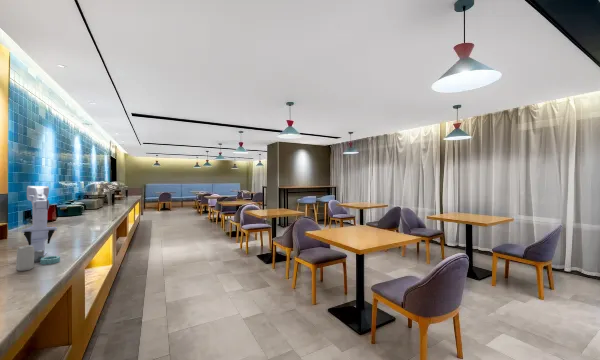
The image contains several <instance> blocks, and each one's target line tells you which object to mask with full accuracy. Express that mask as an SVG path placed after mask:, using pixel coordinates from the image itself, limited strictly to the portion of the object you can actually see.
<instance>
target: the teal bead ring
mask: <svg viewBox="0 0 600 360" xmlns="http://www.w3.org/2000/svg"><path fill="white" fill-rule="evenodd" d="M60 261H61V256H60V255H50V256H44V258H41V262H39V263H40V265H53V264H57V263H60Z"/></svg>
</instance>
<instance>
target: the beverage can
mask: <svg viewBox="0 0 600 360" xmlns="http://www.w3.org/2000/svg"><path fill="white" fill-rule="evenodd" d="M15 264H16V265H15V270H16V271H18V272H24V271H29V270H32V269H33V268H34V266H35V262H34V247H33V246H29V245H22V246H19V247H17V249H16V263H15Z"/></svg>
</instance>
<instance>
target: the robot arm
mask: <svg viewBox="0 0 600 360" xmlns="http://www.w3.org/2000/svg"><path fill="white" fill-rule="evenodd" d="M49 192H50V188H49V186H48V185H27V186H26V199H27V201H30V202H31V205H32V225H30V226H29V227H27V228H22V229H21V231H20V232H21V234H23V235H24V237H25V241H26V242H27V244H28V246H33V247H34V251H37V250H44V257H46V255H47V253H48V252H47V251H46V244H50V242H51V238H52V236H53V235H54V233H55V232H57V231H58V227H57V226H48V211H49V208H50V200H49V199H48V198H49ZM46 240H47V241H46ZM46 242H47V243H46Z"/></svg>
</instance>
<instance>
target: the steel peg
mask: <svg viewBox="0 0 600 360" xmlns="http://www.w3.org/2000/svg"><path fill="white" fill-rule="evenodd" d="M44 257H45V256H44V250H37V251H34V263H40V262H41V258H44Z"/></svg>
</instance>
